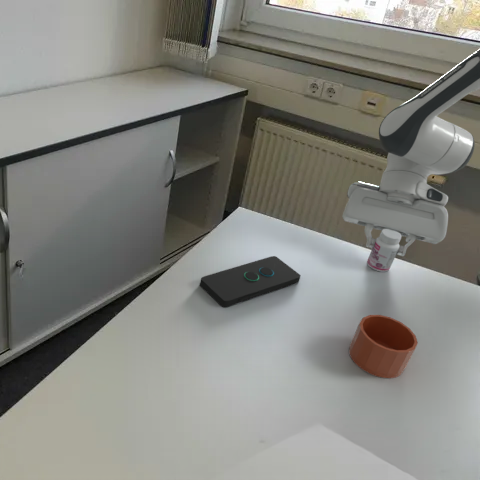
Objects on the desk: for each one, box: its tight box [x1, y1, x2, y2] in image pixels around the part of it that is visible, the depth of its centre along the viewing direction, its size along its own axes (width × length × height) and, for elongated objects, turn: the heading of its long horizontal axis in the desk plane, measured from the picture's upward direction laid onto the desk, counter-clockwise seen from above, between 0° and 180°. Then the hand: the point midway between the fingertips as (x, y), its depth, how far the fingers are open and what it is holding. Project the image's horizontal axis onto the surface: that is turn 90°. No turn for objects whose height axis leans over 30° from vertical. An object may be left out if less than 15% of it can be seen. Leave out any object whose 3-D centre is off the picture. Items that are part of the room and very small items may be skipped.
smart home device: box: [199, 255, 301, 308], centre depth 108 cm, size 8×2×20 cm
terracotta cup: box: [348, 314, 419, 379], centre depth 91 cm, size 9×9×6 cm
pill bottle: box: [366, 229, 403, 273], centre depth 115 cm, size 5×5×8 cm
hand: (385, 250), depth 115 cm, fingers closed on pill bottle, 5 cm apart
